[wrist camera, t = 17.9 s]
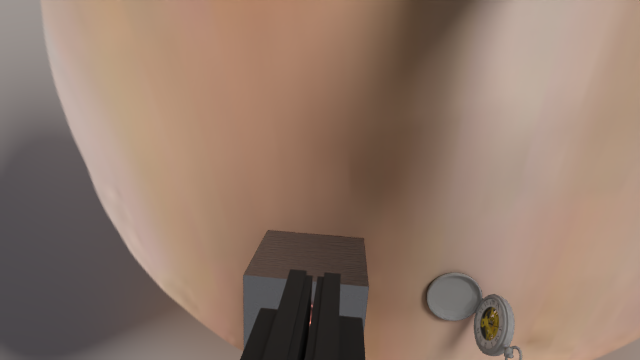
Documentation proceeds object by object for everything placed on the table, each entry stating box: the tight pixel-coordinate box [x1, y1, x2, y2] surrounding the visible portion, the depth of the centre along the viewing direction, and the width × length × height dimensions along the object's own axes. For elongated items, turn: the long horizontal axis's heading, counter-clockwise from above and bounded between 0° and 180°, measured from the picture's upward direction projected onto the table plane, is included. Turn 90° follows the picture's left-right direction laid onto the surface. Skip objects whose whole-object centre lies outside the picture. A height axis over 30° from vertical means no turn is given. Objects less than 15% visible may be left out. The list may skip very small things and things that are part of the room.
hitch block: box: [243, 230, 369, 349], centre depth 39 cm, size 12×12×10 cm
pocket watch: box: [427, 273, 522, 360], centre depth 38 cm, size 8×8×10 cm
